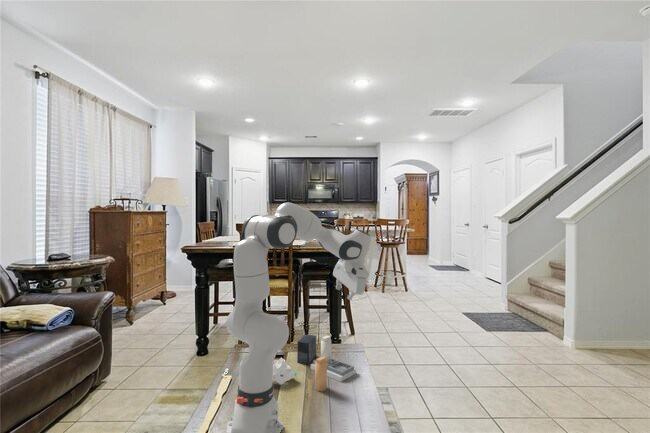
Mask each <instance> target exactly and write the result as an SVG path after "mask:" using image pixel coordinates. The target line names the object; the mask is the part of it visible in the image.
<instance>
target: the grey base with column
mask: <svg viewBox="0 0 650 433" xmlns="http://www.w3.org/2000/svg"><path fill="white" fill-rule="evenodd" d="M322 356H323V357H326V361H327V378H331V379H333V380H335V381H338V382H343V381H345V380H347V379H348V378H350V377H352V376H354V375H356V374H357V368H355V365H352V364H349V363H347V362H344V361H341V360H339V359H337V358H333V357H332V339H331V336H330V335H328V334H327V335H325V336H322V337H321V339H320V357H322ZM315 361H316V359H313V360H312V363H310V370H312V371H315Z"/></svg>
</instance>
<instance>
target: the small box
mask: <svg viewBox="0 0 650 433" xmlns="http://www.w3.org/2000/svg"><path fill="white" fill-rule="evenodd" d="M296 355H297V357H296V358H297V363H298V364H304V365H311V364H312V363H313V360H315V358H316V357H317V335H314V334H313V335H312V334H304V335H303V336H302V337H301V338H300V339H299V340H298V341H297V354H296ZM311 362H312V363H311Z"/></svg>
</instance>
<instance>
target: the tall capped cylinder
mask: <svg viewBox="0 0 650 433" xmlns="http://www.w3.org/2000/svg"><path fill="white" fill-rule="evenodd" d="M315 360H316V361H315V372H314V389H315V391H317V392H325V391H326V390H327V388H328V387H327V386H328V384H327V382H328V381H327V380H328V376H327V361H326V357H323V356H322V357H321V356H320V357H317V358H316V359H315Z"/></svg>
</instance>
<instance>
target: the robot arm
mask: <svg viewBox="0 0 650 433" xmlns="http://www.w3.org/2000/svg"><path fill="white" fill-rule="evenodd" d="M371 236H372V235H370V234H369V233H368V232H365V231H363V230H361V229H357V228H356V229H354V231H353V232H352V233H350V234H347V235H346V234H344V233H342V232H340V231H339V230H338V229H336V228H335V227H324V226H322V221H321V219H320V218H319V217H318V216H317V215H316V214H315V213H313V212H312V211H310V210H308V209H306V208H305V207H303V206H302V205H301V206H300V205H298V204H296V203H293V202H289V201H288V202H283V203H281V204H280V205H279V206H278V207H277V209H276V210H275V212H274V215H272V214H254V215H251V216H249V217H247V218H246V219H245V220H244V222H243V224H242V227H241V235H240V239H241V240H240V241H239V242H237V243H236V244H235V246H234V252H233V275H234V278H233V279H234V286H235V288H234V289H235V302H234V307H233V310H231V312H229V314H228V316H227V318H226V322H225V327H226V330H227V331H228V333H229V334H230V335H231V336H232V337H234V338H235V339H236V340H238V341H241V342H243V343H246V344H247V345H248V347H249V348H248V354H247V355H246V356H245V357H244V358H242V360H241V361H240V363H239V368H238V369H239V370H238V371H239V373H238V375H239V376H238V378H239V380H238V381H239V382H238V385H237V391H236V399H235V400H234V410H233V416H231V417H230V421H228V422H227V426H226V432H225V433H280V432H281V433H282V431H283V429H284V423H283V422H282V421H281V420H279V419H280V418H279V402H278V400H277V399H276V398H275V396H274V395H275V386H274V385H275V384H274V381H273V365H274V364H275V363H274V361H275V358H276V355H277V354H278V352H279V351H280V350H282V349H283V348H284V347H285V345H286V344H287V342H288V340H289V336H290V328H289V325H288V324H287V323H286V322H285V321H284V320H282V319H281V318H280V317H278V316H276V315H275V314H270V313H266V312H264V310H263V301H265V299H267V298H268V297H269V296H270V293H271V292H270V291H271V289H270V288H271V287H270V276H269V274H270V273H269V267H268V260H267V256H268V253H269V250H270V249H277V250H280V249H281V250H282V249H283V250H284V249H286V248H289V247H290V246H292V245H293V244H294V242H295V240H296V239H299V240H301V241H305V242H311V241H314V240H316V241H317V242H318V244H319V246H320V247H321V248H323V249H324V250H325V251H327V252H329V253H330V254H332V255H334V256H335V257H337V258H339V259H338V261H337V262H336V264H335V265H334V268H333V272H332V276H333V277H334V278H336V282H335V284H336V286H335V289H336V290H337V291H340V290H341V289H342V285H344V286H345V287H346V288H347V289H349V290H350V291H349V292H350V293H349V294H347V297H346V299H347V300H349V301H352V300H353V298H354V297H355V296H356V295H358V296H359V295H362V294H363V293H364V292H365V289H366V286H367V282H368V281H367V280H368V279H367V278H369V276H370V273H369V271H368V270H367V268H366V266H365V265H364V264H365V261H366V260H365V259H366V256H367V255H368V253H369V249H370V246H371V241H372V237H371ZM341 284H342V285H341ZM281 430H282V431H281Z"/></svg>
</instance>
